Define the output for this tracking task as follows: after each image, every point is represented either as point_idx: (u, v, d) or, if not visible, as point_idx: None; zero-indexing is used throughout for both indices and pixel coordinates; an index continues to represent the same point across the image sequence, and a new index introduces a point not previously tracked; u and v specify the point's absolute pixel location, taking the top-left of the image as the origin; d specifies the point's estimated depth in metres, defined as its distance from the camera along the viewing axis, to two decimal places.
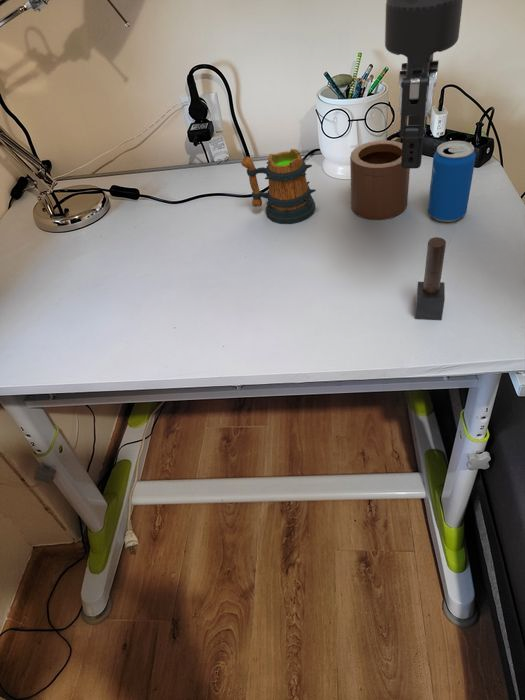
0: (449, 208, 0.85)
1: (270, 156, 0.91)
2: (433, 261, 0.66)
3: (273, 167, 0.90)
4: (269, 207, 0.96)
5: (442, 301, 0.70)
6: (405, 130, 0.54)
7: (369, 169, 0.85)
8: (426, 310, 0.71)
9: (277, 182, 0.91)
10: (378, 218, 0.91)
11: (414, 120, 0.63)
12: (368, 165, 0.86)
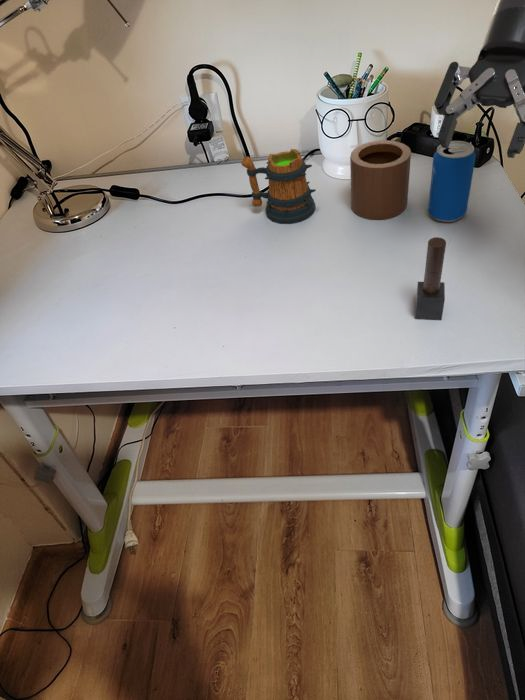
0: (449, 208, 0.85)
1: (270, 156, 0.91)
2: (433, 261, 0.66)
3: (273, 167, 0.90)
4: (269, 207, 0.96)
5: (442, 301, 0.70)
6: None
7: (369, 169, 0.85)
8: (426, 310, 0.71)
9: (277, 182, 0.91)
10: (378, 218, 0.91)
11: None
12: (368, 165, 0.86)
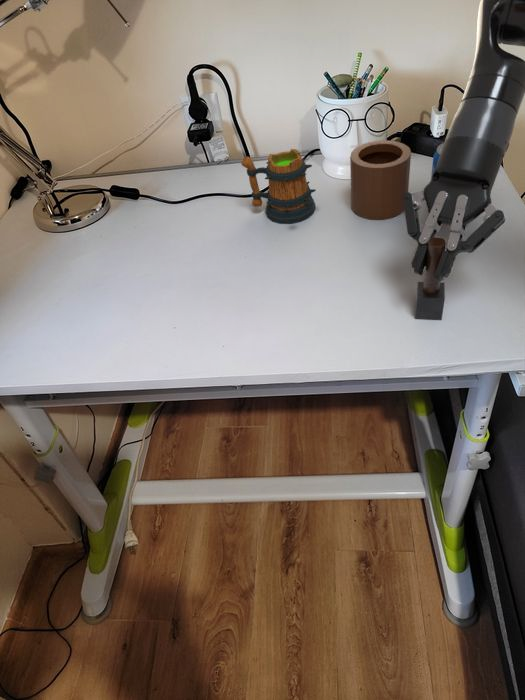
0: None
1: (270, 156, 0.91)
2: (433, 261, 0.66)
3: (273, 167, 0.90)
4: (269, 207, 0.96)
5: (442, 301, 0.70)
6: None
7: (369, 169, 0.85)
8: (426, 310, 0.71)
9: (277, 182, 0.91)
10: (378, 218, 0.91)
11: None
12: (368, 165, 0.86)
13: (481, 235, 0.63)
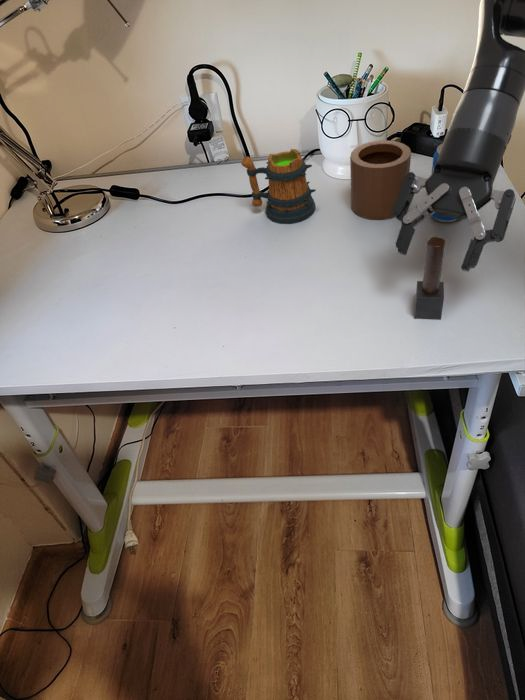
0: None
1: (270, 156, 0.91)
2: (432, 261, 0.66)
3: (273, 167, 0.90)
4: (269, 207, 0.96)
5: (441, 300, 0.70)
6: None
7: (369, 169, 0.85)
8: (426, 309, 0.71)
9: (277, 182, 0.91)
10: (378, 218, 0.91)
11: None
12: (368, 165, 0.86)
13: (504, 218, 0.61)
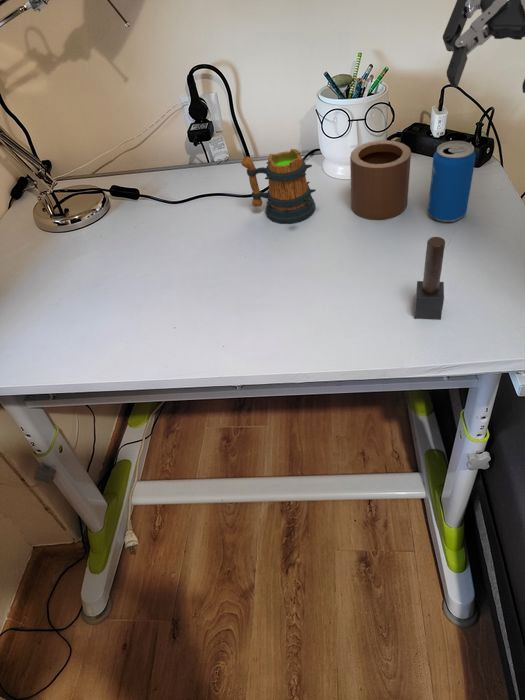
0: (449, 208, 0.85)
1: (270, 156, 0.91)
2: (432, 261, 0.66)
3: (273, 167, 0.90)
4: (269, 207, 0.96)
5: (441, 300, 0.70)
6: None
7: (369, 169, 0.85)
8: (426, 309, 0.71)
9: (277, 182, 0.91)
10: (378, 218, 0.91)
11: None
12: (368, 165, 0.86)
13: None
